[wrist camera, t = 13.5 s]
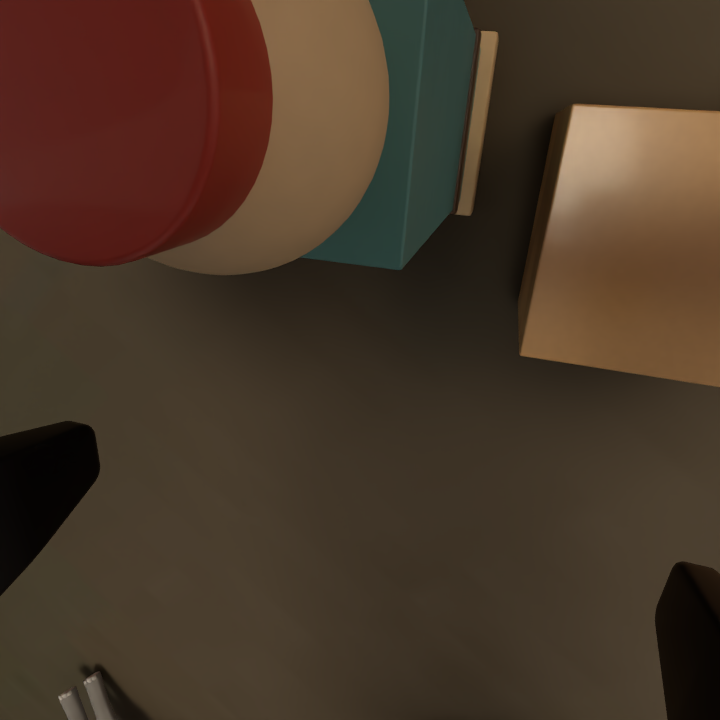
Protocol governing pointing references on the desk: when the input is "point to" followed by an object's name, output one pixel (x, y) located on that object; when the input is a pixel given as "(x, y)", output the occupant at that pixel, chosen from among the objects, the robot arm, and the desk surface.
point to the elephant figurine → (97, 698)
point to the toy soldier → (239, 129)
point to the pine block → (627, 244)
